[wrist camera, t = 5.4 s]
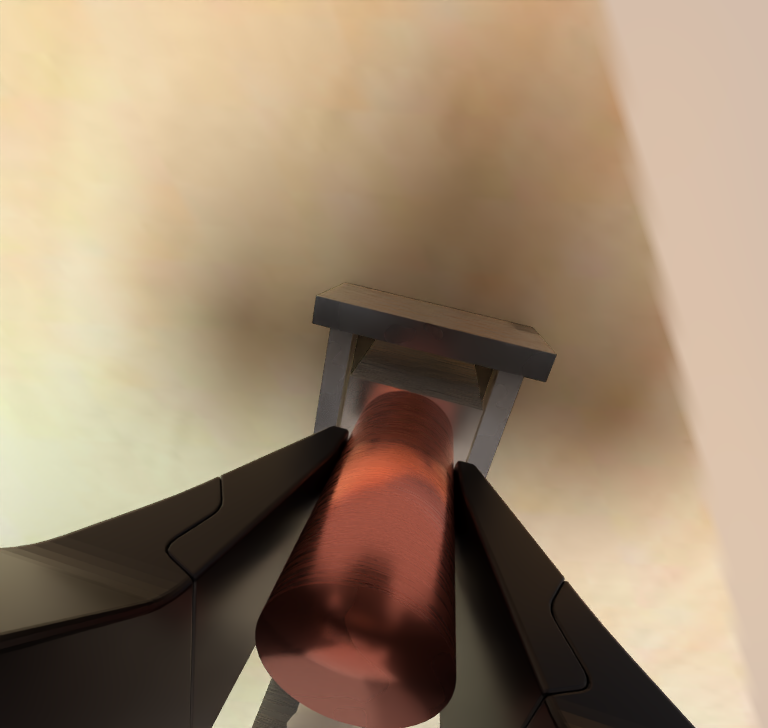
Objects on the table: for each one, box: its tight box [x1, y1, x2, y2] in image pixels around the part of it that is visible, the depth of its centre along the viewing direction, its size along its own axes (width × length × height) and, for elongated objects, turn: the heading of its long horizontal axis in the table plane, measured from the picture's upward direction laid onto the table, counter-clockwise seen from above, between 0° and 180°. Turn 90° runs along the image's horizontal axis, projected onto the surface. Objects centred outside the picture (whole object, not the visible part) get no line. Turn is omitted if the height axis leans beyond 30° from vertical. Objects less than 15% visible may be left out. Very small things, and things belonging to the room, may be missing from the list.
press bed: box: [252, 283, 557, 728], centre depth 14 cm, size 21×7×6 cm, turn 168°
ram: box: [255, 340, 483, 728], centre depth 10 cm, size 6×4×10 cm
